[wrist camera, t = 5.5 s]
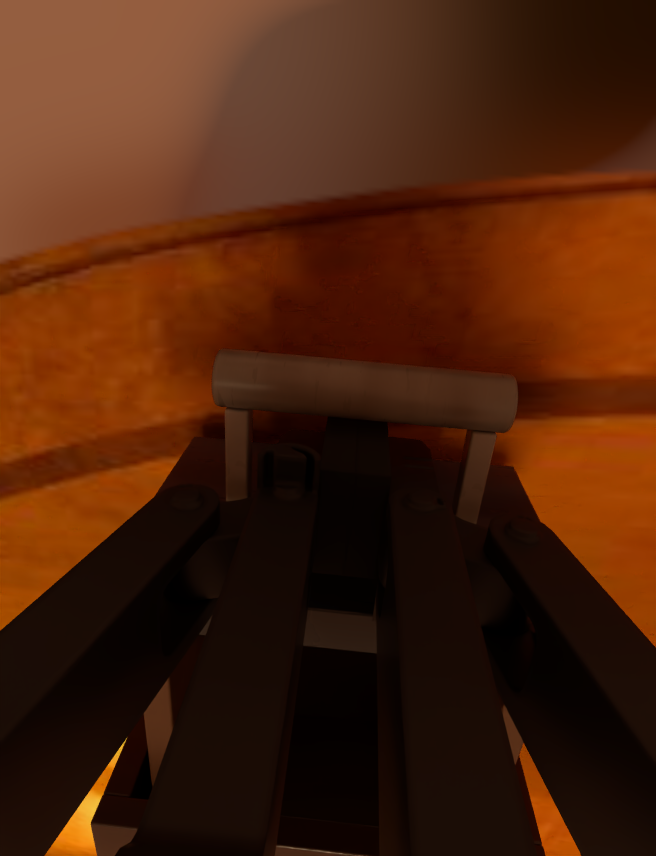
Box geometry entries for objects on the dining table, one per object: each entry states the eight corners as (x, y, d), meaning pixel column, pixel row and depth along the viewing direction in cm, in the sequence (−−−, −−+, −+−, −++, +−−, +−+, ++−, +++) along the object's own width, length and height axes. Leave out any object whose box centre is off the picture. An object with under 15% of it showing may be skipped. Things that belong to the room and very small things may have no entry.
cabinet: (192, 583, 23) (89, 823, 15) (483, 613, 23) (552, 878, 14) (202, 787, 30) (134, 1040, 21) (430, 814, 29) (457, 1083, 21)
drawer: (188, 298, 17) (62, 384, 10) (548, 330, 17) (678, 442, 10) (204, 693, 25) (140, 896, 18) (449, 721, 25) (481, 938, 18)
